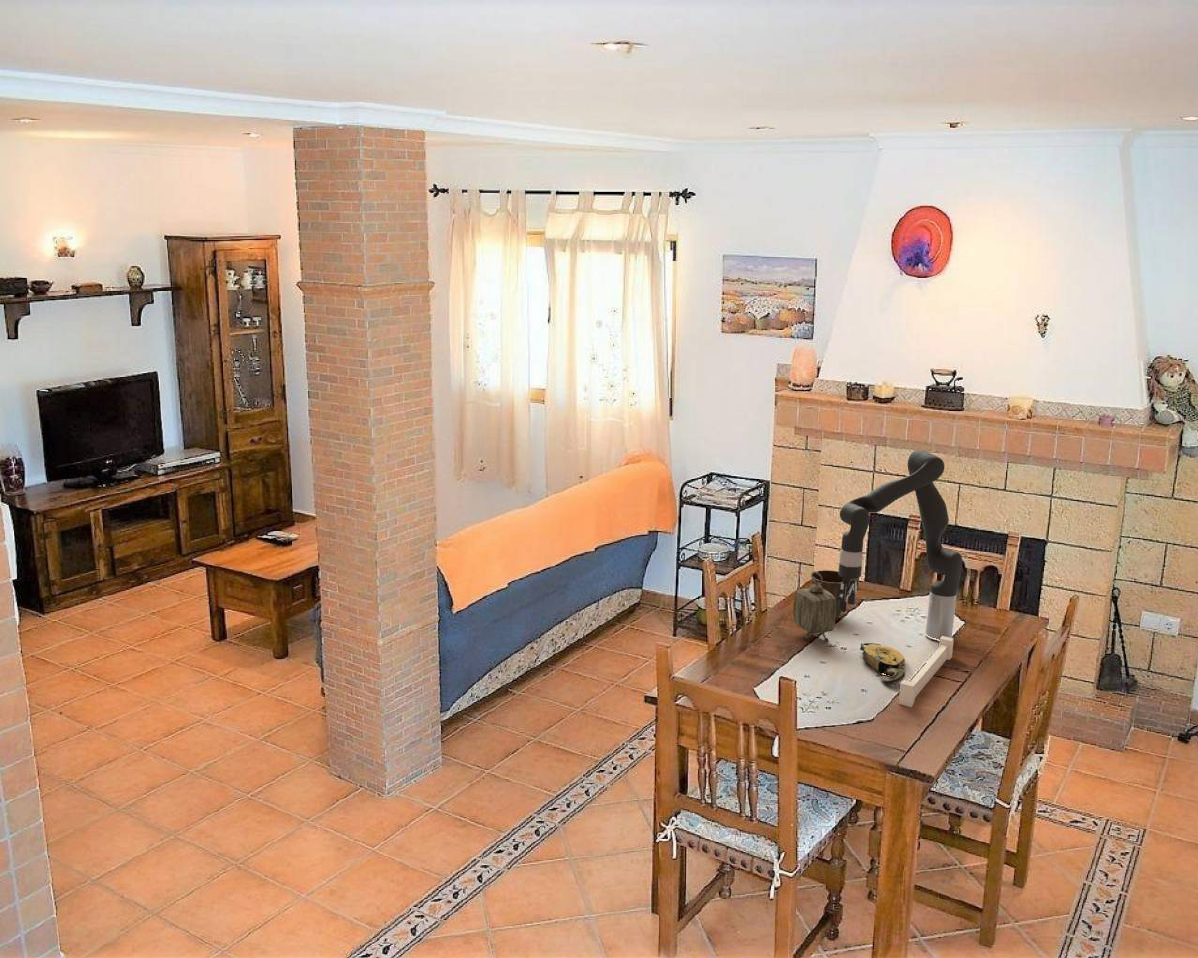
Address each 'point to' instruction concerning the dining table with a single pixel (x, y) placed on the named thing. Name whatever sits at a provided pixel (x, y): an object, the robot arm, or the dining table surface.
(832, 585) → the plant pot
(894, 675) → the pulley block
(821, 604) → the tabletop clock
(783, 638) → the dining table surface
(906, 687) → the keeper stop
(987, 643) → the dining table surface
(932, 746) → the dining table surface
